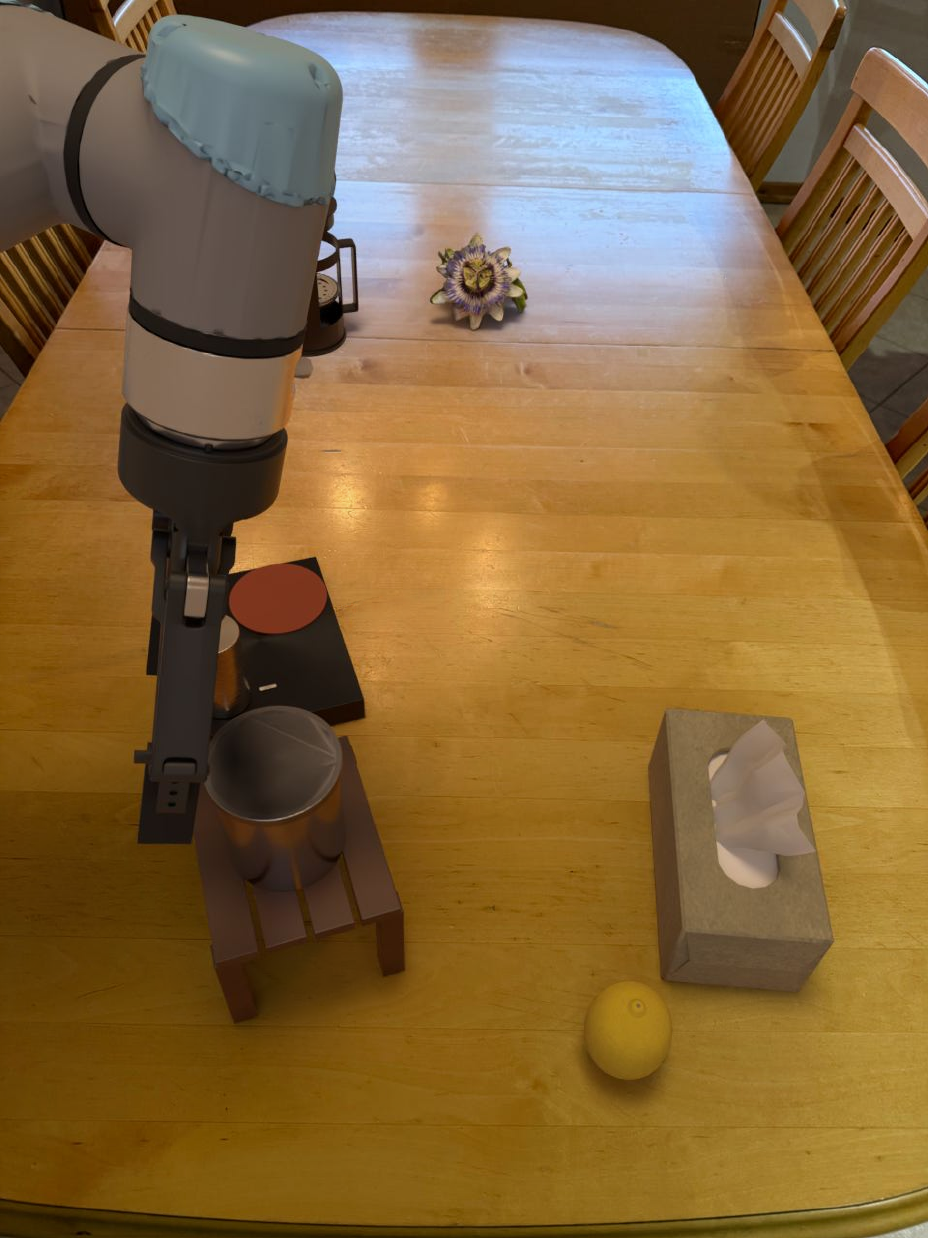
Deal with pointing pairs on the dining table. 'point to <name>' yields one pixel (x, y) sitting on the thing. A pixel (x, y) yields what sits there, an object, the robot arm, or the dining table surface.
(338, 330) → the french press
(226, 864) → the drying rack
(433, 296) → the passion flower
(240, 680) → the hob knob
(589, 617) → the dining table surface
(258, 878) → the pot
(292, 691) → the hob
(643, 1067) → the lemon
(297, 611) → the burner
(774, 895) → the tissue box
